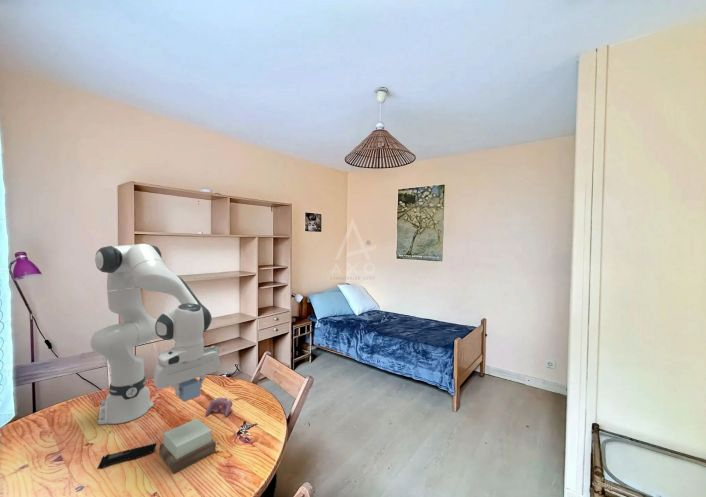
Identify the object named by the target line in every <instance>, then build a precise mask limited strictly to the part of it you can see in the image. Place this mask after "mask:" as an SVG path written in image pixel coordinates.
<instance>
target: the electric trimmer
mask: <svg viewBox="0 0 706 497" xmlns="http://www.w3.org/2000/svg"><path fill="white" fill-rule="evenodd" d="M156 446H157V442H155V443H151V444H147V445H146V444H145V445H143V446H139V447H134V448H131V449H126V450H122V451H118V452H115V453H110V454H109V453H108V454H106V455H105V456H104V455H103V456H102V457H101V460H100V462H99V464H98V467H97V469H98V470H99V469H100V470H101V469H103V468H104V467H106V466H109V465H113V464H116V463H119V462H123V461H126V460H131V461H132V460H134V459H138V458H140V457H143V456H145V455H147V454H151V453H152V452H154V451H155V449H156Z"/></svg>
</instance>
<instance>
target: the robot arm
mask: <svg viewBox="0 0 706 497" xmlns="http://www.w3.org/2000/svg"><path fill="white" fill-rule="evenodd" d="M94 262H95V265H96V268H97V269H98V270H99V271H100V272H102V273H107V276H106V291H107V292H106V293H107V304H108V310H110V311H111V313H114V314H117V315H120V317H121V318H122V320H123V322H120V323H117V324H113V325H108V326H106V327H103V328H101V329H99V330H97V331H95V332H94V333H93V335H92V336H91V339H90V348H91V349H92V351H93V352H94V353H95V354H97V355H99V356H102V357H104V358H105V359H106V360H107V363H108V364H109V367H110V368H109V369H110V384H109V387H108V393H107V395H106V398H105V399H104V400H101V401H100V407H99V411H98V419H97V420H98V421H97V425H106V424H108V425H109V424H111V425H117V424H123V423H126V422H130V421H134V420H136V419H138V418H139V417H142V416H144V415H145V414H146V413H147V412H148V410H150V409H151V408H152V407H154V406H155V404H154V402H153V401H151V399H150V388H149V387H147V386H146V376H145V359H144V358H143V357H141V356H140V355H136V354H134V353H133V348H134V347H137V346H141V345H143V344H147V343H148V342H151V341H152V340H154V339H156V338H157V337H159V338H160V339H162V340H165V341H169V340H173V341H174V347H172V348H170V349H169V350H167V351H165V352H163V353H161V354H158V356H157V362H158V364H157V365H156V366H155V369H154V373H153V375H154V376H153V385H154V388H156V389H158V390H162V389H165V388H166V389H167V388H168V387H172V388H173V390H174V392H175V393H174V394H175V396H176V397H178V396H180V395H182V390H181V389H178V386H179V383H181V382H185V381H188V380H191V379H194V378H195V379H197V378H199V379H198V381H200V389H202V388H203V383H204V381H205V379H206V376H207V375H209V374H212V373H216V372H219V370H220V368H221V360H220V348H219V346H217V345H211V346H207V347H205V339H204V337H203V336H204V333H205V332H206V331H207V330H208V329H209V327H210V326H211V323H212V314H211V312H210V310H209V309H208V308H207V307H206V306H205V305H203V304H202V303H201V301H200V300H199V299H198V297H197V296H196V295H195V293H194V292H193V291H192V290H191V288H190V287H189V286H188V284H187V283H186V281H184V280H183V278H182V277H180V276H178V275H176V274H175V273H174V272H173V271H171V270H170V269H169V268H168V267H167V266H166V264H165V263H164V260H163V258H162V252H161V250H160V249H159V247H158V246H156V245H152V244H149V243H148V244H147V243H137V244H125V245H124V244H123V245H115V246H113V245H107V246H103V247H100V248H99V249H98V250H97V251H96V253H95V257H94ZM141 289H143V290H145V291H147V292H148V291H149V292H155V293H162V294H167V295H170V296H172V297H175V298H176V299H177V300H178V302H179V303H180V304H179V305H178V306H177V307H176V308H175V309H174V310H171V311H168V312H165V313H161V315H159V316H158V318H157V319H156V318H154V317H152V316H151V315H150V314H149V313H148V312H147V311H146V309H145V306H144V304H143V298H142V293H141Z"/></svg>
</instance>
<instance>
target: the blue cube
mask: <svg viewBox="0 0 706 497" xmlns="http://www.w3.org/2000/svg"><path fill="white" fill-rule="evenodd" d="M177 388H178V389H181V390H182V395H180V396H177V397H178V398H179V399H180V400H181V401H182V402H184V403H186V402H188V401H190V400H194V399H196V398H199V397H200V396H201V388H200V381H199V379H197V378H194V379H191V380H188V381H185V382H181V383H179V386H178V387H177Z"/></svg>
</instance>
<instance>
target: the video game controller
mask: <svg viewBox="0 0 706 497" xmlns="http://www.w3.org/2000/svg"><path fill="white" fill-rule="evenodd" d="M220 406H222V407H221V408H220ZM232 407H233V401H232V400H231V399H228V398H227V397H217V398H213V399H212V400H211V401H210V402H209V404H208V406H207V408H206V411H205V416H206V417H208V416H210V414H211V413H212V411H213V412H214V413H219V412H221V414H224V417H225V418H227V417H228V416H229V414H230V412H231V409H232Z"/></svg>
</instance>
